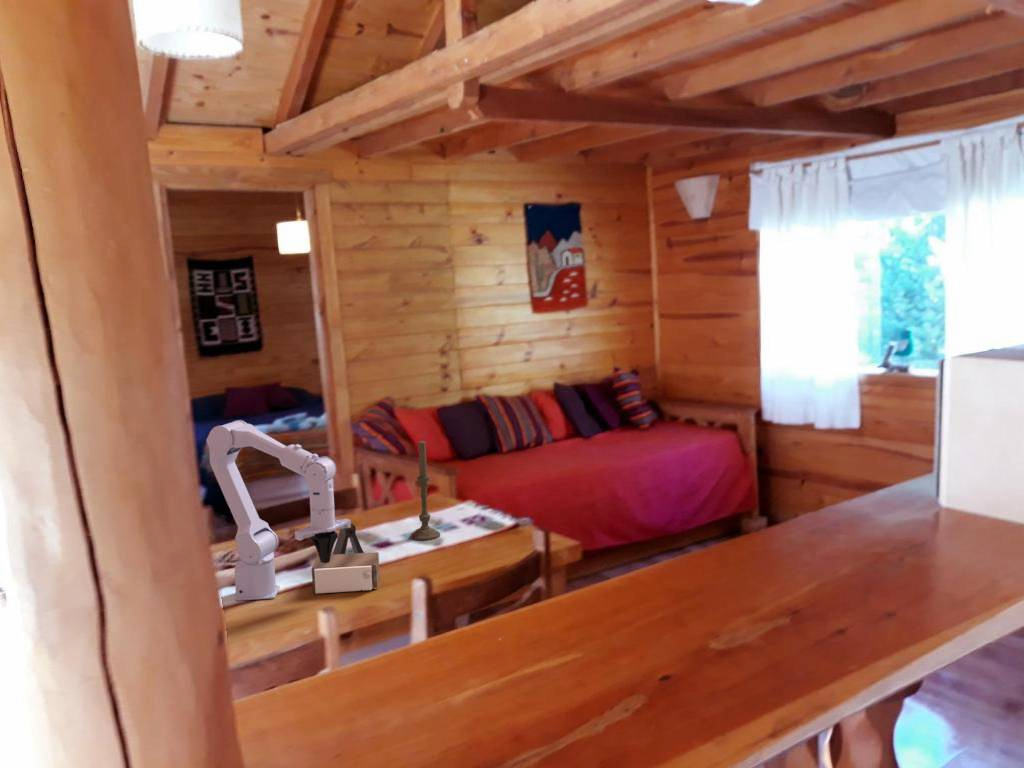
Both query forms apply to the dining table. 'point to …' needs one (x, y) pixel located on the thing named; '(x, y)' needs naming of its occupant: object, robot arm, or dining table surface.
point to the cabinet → (350, 564)
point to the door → (343, 579)
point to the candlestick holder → (424, 500)
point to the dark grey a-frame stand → (343, 539)
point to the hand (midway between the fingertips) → (325, 561)
